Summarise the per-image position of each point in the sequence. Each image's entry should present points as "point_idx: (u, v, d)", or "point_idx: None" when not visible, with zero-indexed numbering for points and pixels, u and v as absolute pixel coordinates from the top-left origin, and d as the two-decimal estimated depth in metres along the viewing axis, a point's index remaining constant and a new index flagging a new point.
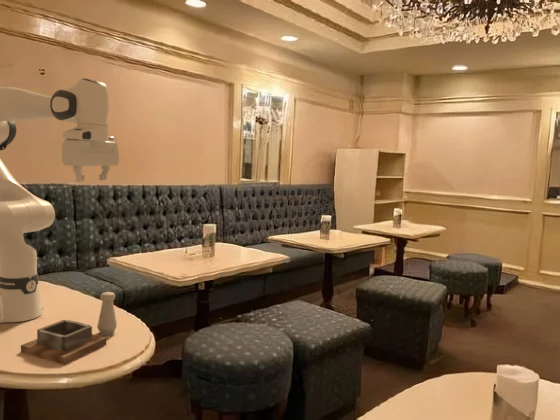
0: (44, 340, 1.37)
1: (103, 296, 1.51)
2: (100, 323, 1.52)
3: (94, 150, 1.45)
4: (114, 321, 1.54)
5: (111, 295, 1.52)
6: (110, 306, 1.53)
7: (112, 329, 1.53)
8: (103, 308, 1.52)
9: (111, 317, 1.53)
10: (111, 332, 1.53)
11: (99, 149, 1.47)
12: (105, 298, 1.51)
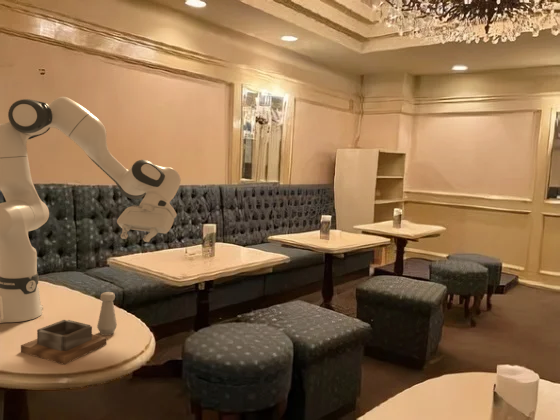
0: (44, 340, 1.37)
1: (103, 296, 1.51)
2: (100, 323, 1.52)
3: None
4: (114, 321, 1.54)
5: (111, 295, 1.52)
6: (110, 306, 1.52)
7: (112, 329, 1.53)
8: (103, 308, 1.52)
9: (111, 317, 1.53)
10: (111, 332, 1.53)
11: None
12: (105, 298, 1.51)
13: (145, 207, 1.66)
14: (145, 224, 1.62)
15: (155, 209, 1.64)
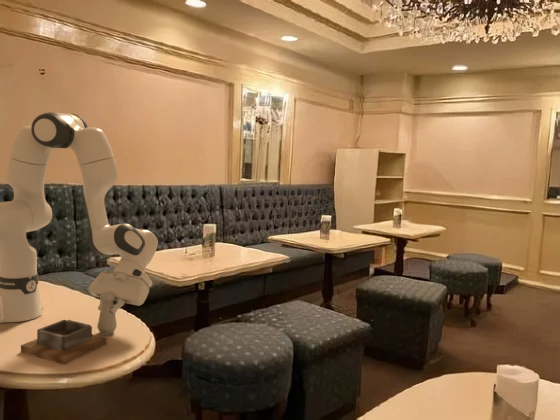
0: (44, 340, 1.37)
1: (103, 296, 1.51)
2: (100, 323, 1.52)
3: None
4: (114, 321, 1.54)
5: (111, 295, 1.52)
6: (110, 306, 1.53)
7: (112, 329, 1.53)
8: (103, 308, 1.52)
9: (111, 317, 1.53)
10: (111, 332, 1.53)
11: None
12: (105, 298, 1.51)
13: (119, 276, 1.57)
14: (118, 295, 1.54)
15: (129, 279, 1.56)
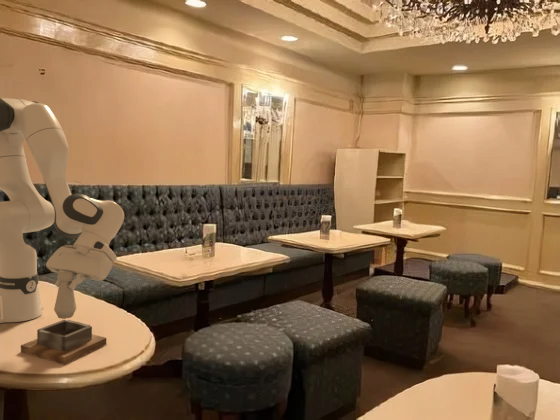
0: (44, 340, 1.37)
1: (60, 275, 1.37)
2: (57, 305, 1.38)
3: None
4: (73, 303, 1.39)
5: (69, 274, 1.38)
6: None
7: (71, 312, 1.39)
8: (60, 289, 1.38)
9: (69, 298, 1.38)
10: (70, 315, 1.39)
11: None
12: (62, 277, 1.37)
13: (79, 249, 1.43)
14: (77, 269, 1.40)
15: (90, 252, 1.42)
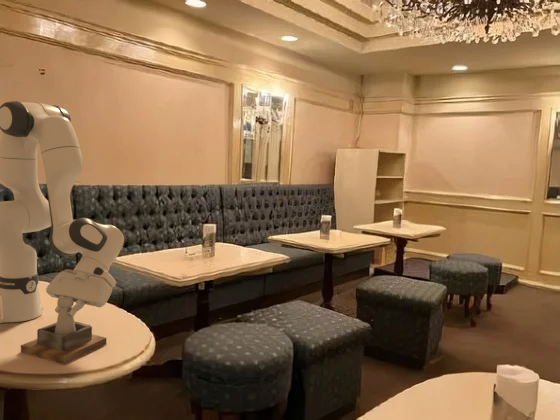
0: (44, 340, 1.37)
1: (60, 301, 1.38)
2: (57, 331, 1.39)
3: None
4: (73, 328, 1.40)
5: (69, 300, 1.39)
6: None
7: None
8: (60, 315, 1.39)
9: (69, 324, 1.39)
10: None
11: None
12: (62, 303, 1.38)
13: (79, 275, 1.44)
14: (77, 295, 1.40)
15: (90, 278, 1.42)
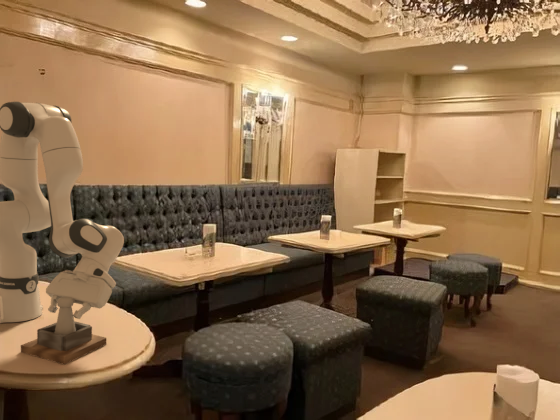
0: (44, 340, 1.37)
1: (60, 301, 1.38)
2: (57, 331, 1.39)
3: None
4: (73, 328, 1.40)
5: (69, 300, 1.39)
6: (68, 312, 1.39)
7: None
8: (60, 315, 1.39)
9: (69, 324, 1.39)
10: None
11: None
12: (62, 303, 1.38)
13: (79, 276, 1.44)
14: (77, 296, 1.40)
15: (90, 279, 1.43)
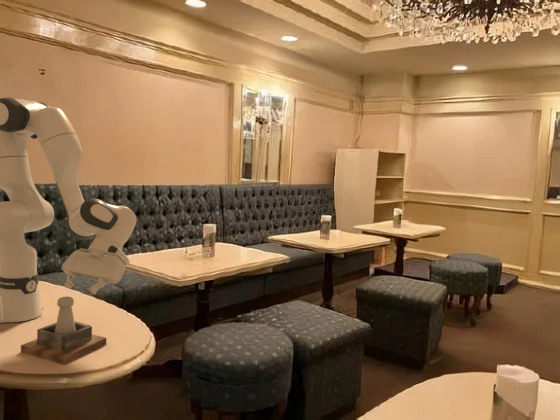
0: (44, 340, 1.37)
1: (60, 301, 1.38)
2: (57, 331, 1.39)
3: None
4: (73, 328, 1.40)
5: (69, 300, 1.39)
6: (68, 312, 1.39)
7: None
8: (60, 315, 1.39)
9: (69, 324, 1.39)
10: None
11: None
12: (62, 303, 1.38)
13: (94, 253, 1.49)
14: (92, 272, 1.45)
15: (104, 256, 1.47)
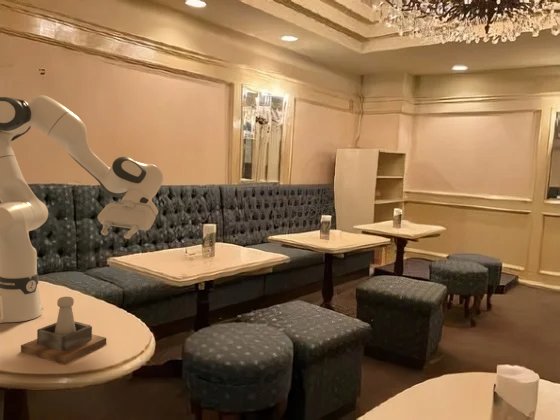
0: (44, 340, 1.37)
1: (60, 301, 1.38)
2: (57, 331, 1.39)
3: None
4: (73, 328, 1.40)
5: (69, 300, 1.39)
6: (68, 312, 1.39)
7: None
8: (60, 315, 1.39)
9: (69, 324, 1.39)
10: None
11: None
12: (62, 303, 1.38)
13: (126, 204, 1.65)
14: (126, 220, 1.61)
15: (136, 206, 1.63)
